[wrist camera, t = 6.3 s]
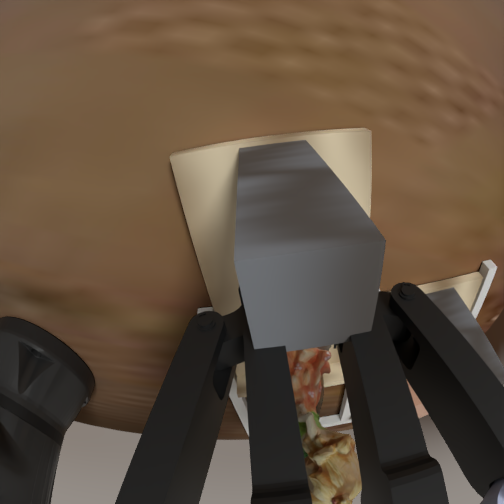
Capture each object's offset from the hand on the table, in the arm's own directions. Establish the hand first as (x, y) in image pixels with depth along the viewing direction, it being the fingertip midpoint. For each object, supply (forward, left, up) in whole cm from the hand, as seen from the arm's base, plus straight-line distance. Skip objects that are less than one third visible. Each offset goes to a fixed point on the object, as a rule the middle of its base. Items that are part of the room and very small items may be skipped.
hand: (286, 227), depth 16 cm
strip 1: (0, -6, -2) cm, 7 cm away
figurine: (0, -13, -2) cm, 14 cm away
